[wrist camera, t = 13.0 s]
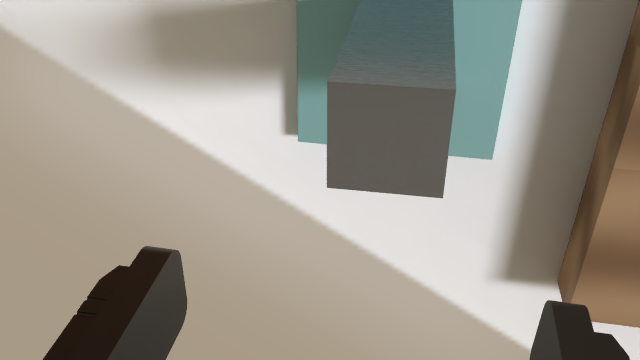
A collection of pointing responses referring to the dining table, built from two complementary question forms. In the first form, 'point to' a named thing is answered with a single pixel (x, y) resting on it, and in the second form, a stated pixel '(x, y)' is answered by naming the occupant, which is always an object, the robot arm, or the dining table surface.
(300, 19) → the teal pad
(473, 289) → the dining table surface
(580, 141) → the dining table surface
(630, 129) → the brown slotted block
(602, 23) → the dining table surface
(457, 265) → the dining table surface
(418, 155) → the steel plug
